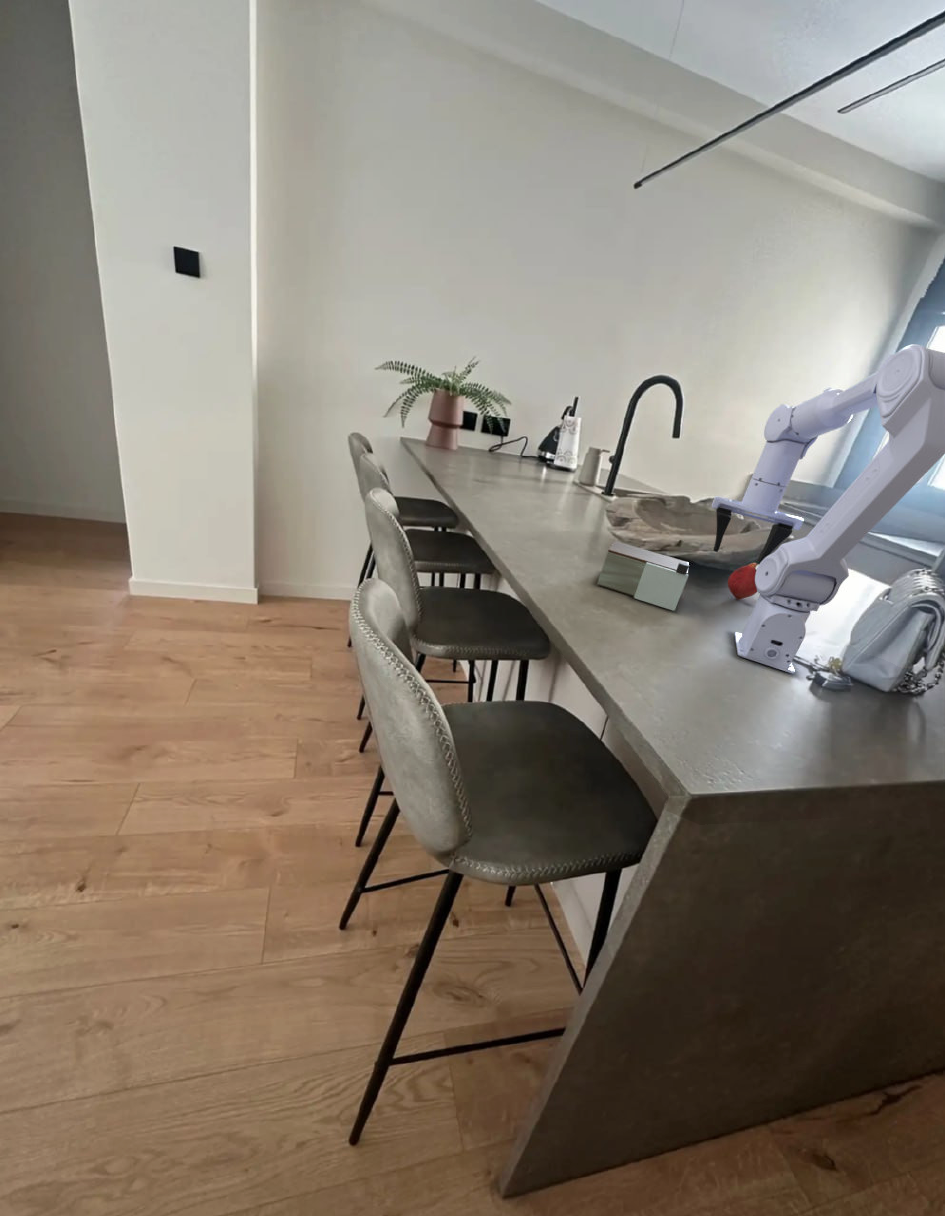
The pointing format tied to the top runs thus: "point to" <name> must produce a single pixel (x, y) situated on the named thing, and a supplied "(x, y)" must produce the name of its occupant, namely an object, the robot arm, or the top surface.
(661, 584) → the sliding door
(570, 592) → the top surface
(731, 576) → the onion
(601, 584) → the cabinet
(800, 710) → the top surface
